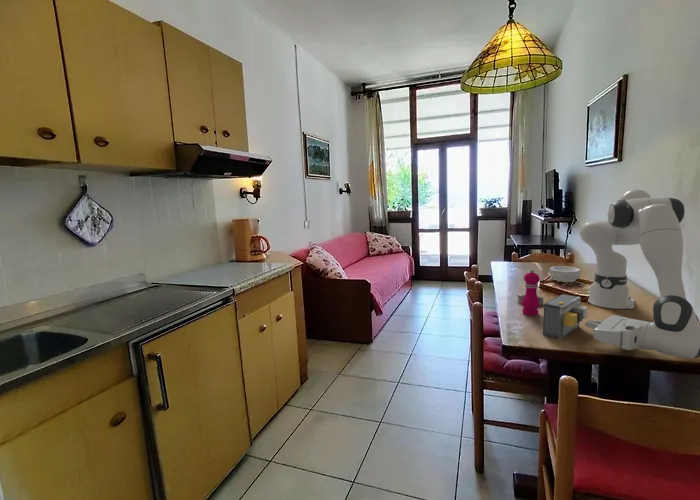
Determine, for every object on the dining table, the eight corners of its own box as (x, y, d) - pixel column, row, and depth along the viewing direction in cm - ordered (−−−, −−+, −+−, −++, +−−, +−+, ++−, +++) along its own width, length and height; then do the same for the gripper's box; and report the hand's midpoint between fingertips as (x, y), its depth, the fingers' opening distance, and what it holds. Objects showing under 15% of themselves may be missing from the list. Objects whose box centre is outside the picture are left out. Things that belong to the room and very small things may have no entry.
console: (561, 322, 147) (562, 292, 145) (579, 326, 142) (580, 295, 140) (542, 334, 135) (544, 302, 133) (561, 339, 130) (563, 305, 128)
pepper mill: (541, 316, 154) (543, 270, 152) (523, 315, 156) (525, 270, 153) (536, 311, 161) (538, 267, 158) (519, 310, 163) (520, 267, 160)
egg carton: (515, 303, 175) (515, 295, 174) (523, 300, 179) (523, 292, 179) (537, 308, 166) (538, 299, 166) (545, 304, 171) (545, 296, 170)
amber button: (564, 321, 134) (565, 311, 133) (576, 324, 131) (577, 313, 130) (561, 324, 131) (561, 313, 131) (573, 327, 128) (573, 316, 128)
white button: (575, 314, 141) (575, 304, 140) (587, 317, 138) (587, 307, 137) (572, 316, 138) (572, 306, 138) (583, 319, 135) (584, 309, 135)
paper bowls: (576, 286, 200) (577, 272, 198) (546, 282, 210) (546, 269, 209) (582, 280, 211) (582, 267, 209) (553, 277, 221) (553, 264, 220)
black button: (570, 318, 137) (570, 308, 136) (582, 320, 134) (582, 310, 133) (566, 320, 135) (567, 310, 134) (578, 323, 132) (579, 312, 131)
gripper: (643, 316, 122) (596, 307, 133) (628, 332, 109) (576, 321, 120) (642, 333, 123) (595, 323, 134) (626, 352, 110) (575, 339, 121)
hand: (586, 322), depth 127 cm, fingers closed
